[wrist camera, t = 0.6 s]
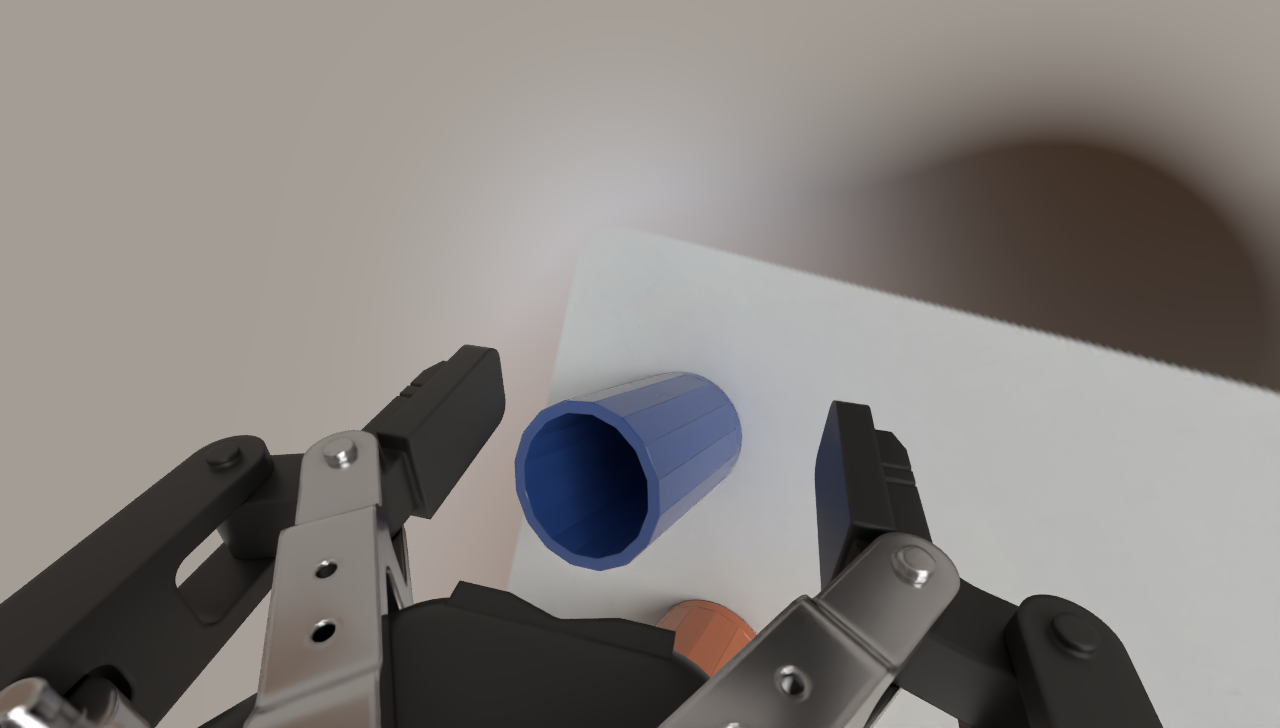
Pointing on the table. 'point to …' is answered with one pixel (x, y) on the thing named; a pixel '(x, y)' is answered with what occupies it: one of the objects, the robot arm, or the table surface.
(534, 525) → the blue cup
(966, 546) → the table surface
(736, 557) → the table surface
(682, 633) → the terracotta cup
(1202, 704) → the table surface
